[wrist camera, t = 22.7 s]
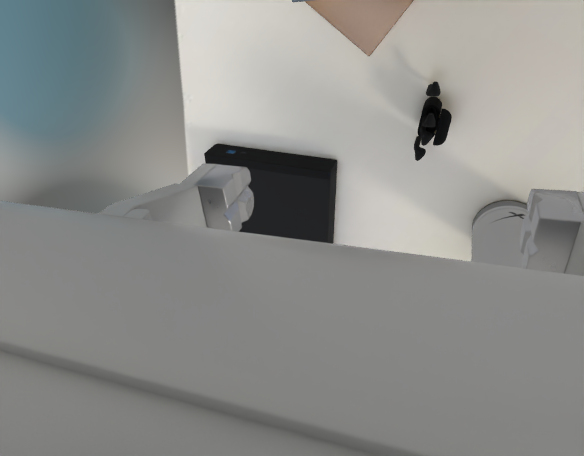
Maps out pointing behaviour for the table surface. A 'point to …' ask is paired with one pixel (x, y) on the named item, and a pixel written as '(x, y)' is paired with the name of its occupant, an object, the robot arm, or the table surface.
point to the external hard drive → (285, 192)
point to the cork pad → (362, 18)
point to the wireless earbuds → (432, 122)
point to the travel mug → (498, 234)
